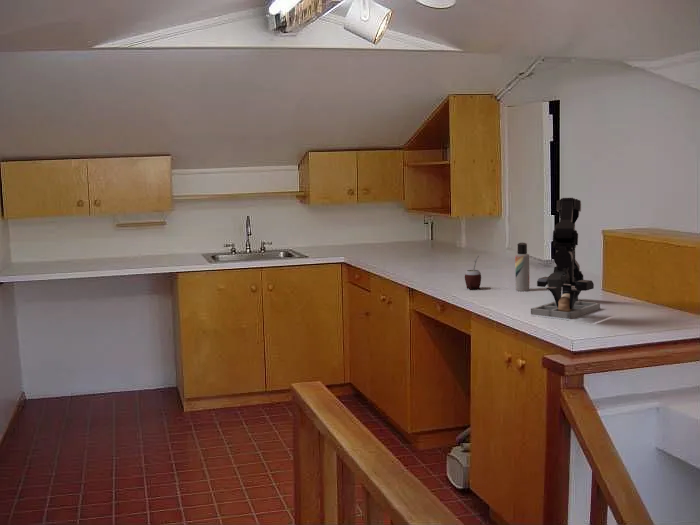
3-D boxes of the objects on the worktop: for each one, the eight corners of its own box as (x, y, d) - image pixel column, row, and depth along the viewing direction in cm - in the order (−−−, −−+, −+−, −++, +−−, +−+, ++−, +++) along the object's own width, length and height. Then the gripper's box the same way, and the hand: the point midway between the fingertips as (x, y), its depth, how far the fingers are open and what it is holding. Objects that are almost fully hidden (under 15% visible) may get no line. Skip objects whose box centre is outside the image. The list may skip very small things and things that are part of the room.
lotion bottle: (527, 289, 339) (527, 241, 337) (531, 291, 334) (530, 243, 331) (514, 289, 339) (513, 242, 337) (517, 291, 333) (517, 243, 331)
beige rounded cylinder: (564, 305, 295) (564, 292, 294) (575, 307, 292) (575, 293, 291) (558, 307, 292) (558, 293, 291) (569, 309, 289) (569, 294, 288)
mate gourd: (468, 287, 349) (468, 253, 347) (485, 288, 345) (485, 253, 343) (461, 290, 343) (461, 255, 341) (479, 291, 338) (478, 255, 337)
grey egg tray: (562, 306, 298) (562, 299, 297) (600, 310, 287) (600, 303, 287) (530, 315, 282) (530, 308, 281) (569, 320, 271) (569, 313, 271)
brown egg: (562, 309, 280) (562, 295, 279) (573, 311, 277) (573, 296, 276) (555, 311, 277) (555, 296, 276) (567, 313, 274) (567, 298, 273)
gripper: (528, 264, 275) (528, 309, 277) (578, 268, 263) (578, 314, 265) (545, 260, 283) (545, 304, 285) (594, 264, 271) (594, 309, 273)
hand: (564, 308), depth 277 cm, fingers closed on brown egg, 4 cm apart
